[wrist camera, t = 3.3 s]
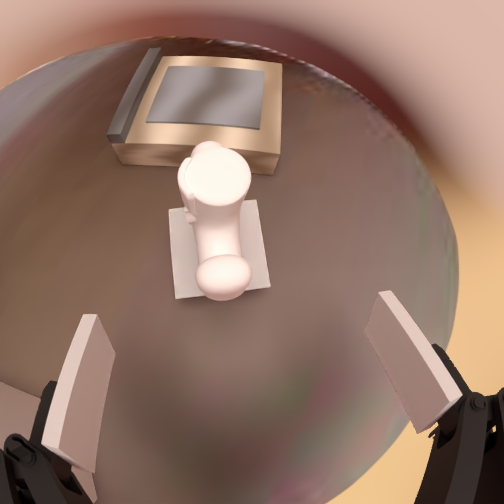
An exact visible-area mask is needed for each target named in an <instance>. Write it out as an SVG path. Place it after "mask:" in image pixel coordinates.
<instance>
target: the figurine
mask: <svg viewBox="0 0 504 504" xmlns="http://www.w3.org/2000/svg"><path fill="white" fill-rule="evenodd" d="M250 183H251V172H250V168H249V166H248V164H247V162H246V161H245V159H244V158H243V157H242V156H241V155H240V154H238V153H237V152H235V151H233V150H231V149H228V148H224V147H223V146H222V145H221V144H220V143H218V142H215V141H206V142H202V143H200V144H198V145H197V146H196V147H195V148H194V149H193V151H192V153H191V157H189V158H186V159H185V160H184V161H183V162H182V164H181V166H180V168H179V171H178V185H179V188H180V192H181V196H182V200H183V203H184V205H185V207H184V208H176V209H169V227H170V243H171V256H172V268H173V278H174V288H175V298H176V299H179V298H188V297H196V296H206V297H208V298H210V299H212V300H217V301H225V300H230V299H234V298H236V297H238V296H240V295H241V294H242V293H243V292H244V291H245V290H252V289H259V288H266V287H270V281H269V274H268V268H267V262H266V256H265V250H264V244H263V237H262V231H261V225H260V219H259V214H258V208H257V202H256V200H247V201H244V198H245V196H246V194H247V191H248V189H249V186H250Z"/></svg>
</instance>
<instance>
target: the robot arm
mask: <svg viewBox="0 0 504 504" xmlns="http://www.w3.org/2000/svg"><path fill="white" fill-rule="evenodd" d="M365 334H366V336H367V337H368V339H369V341H370V343H371V345H372V346H373V348H374V350H375V352H376V354H377V355H378V357H379V359H380V361H381V363H382V365H383V367H384V368H385V370H386V372H387V374H388V376H389V378H390V380H391V382H392V384H393V386H394V388H395V390H396V392H397V393H398V395H399V397H400V399H401V401H402V403H403V405H404V407H405V409H406V411H407V414H408V416H409V418H410V420H411V422H412V424H413V426H414V428H415V430H416V432H417V434H419V433H421V432H423V431H425V430H427V429H429V428H431V427H432V426H433V425H434V424H435V423H436V422H438V424H439V425H438V426H437V427H436V428H435V429H434V430H433V431H432V432H431V433H430V434H429V436H428V437H429V438H430V437H431V436H433V435H434V434H435V436H434V437H433V439H434V441H433V445H432V449H431V453H430V457H429V461H428V464H427V467H426V471H425V474H424V477H423V480H422V483H421V486H420V489H419V491H418V494H417V497H416V499H415V502H414V504H504V388H502V389H501V390H500V391H499V392H498V393H497V394H496V395H490V396H483V395H482V394H480V393H478V392H472V391H471V390H470V389H469V387H468V386H467V384H466V383H465V381H464V380H463V378H462V377H461V375H460V373H459V372H458V370H457V369H456V367H454V364H453V363H452V361H451V360H449V359H450V358H449V357H448V356H447V354H446V352H445V351H444V350H443V349H442V348H441V347H439V346H438V345H437V344H436V343H435V344H433V345H430V343H429V342H428V340H427V339H426V338H425V336H424V335H423V333H422V332H421V330H420V329H419V328H418V326H417V325H416V323H415V322H414V321H413V319H412V318H411V317H410V315H409V314H408V313H407V311H406V310H405V309H404V307H403V306H402V305H401V303H400V302H399V301H398V299H397V298H396V297H395V295H394V294H393V293H392V291H391V290H389V291H383V292H378V294H377V297H376V300H375V303H374V306H373V309H372V312H371V315H370V318H369V321H368V323H367V326H366V329H365ZM114 358H115V352H114V350H113V348H112V346H111V343H110V341H109V339H108V337H107V335H106V333H105V331H104V328H103V326H102V324H101V322H100V319H99V317H98V315H97V314H83V316H82V319H81V321H80V324H79V326H78V328H77V331H76V333H75V336H74V338H73V341H72V343H71V346H70V349H69V351H68V354H67V357H66V359H65V362H64V365H63V368H62V371H61V374H60V377H59V380H58V382H56V381H50V382H49V383H48V384H47V386H46V387H45V388H44V390H43V393H42V396H41V399H40V400H41V402H40V403H39V406H38V410H37V413H36V416H35V420H34V424H33V427H32V431H31V435H30V439H29V441H28V440H27V439H26V438H24V437H23V436H22V435H21V434H17V433H14V434H11V435H9V436H8V437H7V438H6V440H5V442H4V448H3V449H4V450H2V449H1V448H0V504H93V502H92V501H91V499H90V498H89V497H88V495H87V494H86V492H85V490H84V489H83V487H82V486H81V484H80V483H79V481H78V479H77V478H76V476H75V474H74V473H73V472H72V471H71V468H72V466H74V467H75V468H77V469H78V470H82V471H86V472H91V473H95V465H96V456H97V448H98V440H99V434H100V427H101V421H102V415H103V409H104V404H105V399H106V394H107V389H108V384H109V379H110V375H111V370H112V366H113V362H114ZM495 425H496V431H495V432H493V430H492V428H493V427H494V426H495Z"/></svg>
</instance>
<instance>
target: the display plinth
mask: <svg viewBox="0 0 504 504" xmlns="http://www.w3.org/2000/svg"><path fill="white" fill-rule="evenodd" d="M281 101H282V64H279V63H272V62H265V61H257V60H248V59H237V58H224V57H203V56H168V57H163V56H162V50H161V48H149V50H148V52H147V53H146V55H145V57H144V59H143V60H142V62H141V64H140V66H139V67H138V69H137V71H136V73H135V75H134V77H133V78H132V80H131V82H130V84H129V86H128V88H127V90H126V92H125V94H124V96H123V98H122V100H121V102H120V104H119V107H118V109H117V111H116V113H115V115H114V118H113V120H112V122H111V124H110V127H109V129H108V132H107V134H106V135H107V137H108V139H109V141H110V142H111V144H112V146H113V148H114V150H115V152H116V154H117V155H118V157H119V159H120V161H121V163H122V164H123V165H155V166H176V167H180V166H181V164H182V162H183V161H184V160H185V159H186V158H189V157H191V153H192V151H193V149H194V148H195V147H196V146H197V145H198V144H200V143H202V142H206V141H215V142H218V143H220V144H221V145H222V146H223V147H224V148H228V149H231V150H233V151H235V152H237V153H238V154H240V155H241V156H242V157H243V158H244V159H245V161H246V162H247V164H248V166H249V168H250V172H251V173H256V174H264V175H272V176H273V173H274V170H275V167H276V164H277V161H278V159H279V156H280V139H281Z"/></svg>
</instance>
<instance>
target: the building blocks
mask: <svg viewBox="0 0 504 504" xmlns="http://www.w3.org/2000/svg"><path fill="white" fill-rule="evenodd" d="M40 402H41V400H40V398H38V397H35V396H32V395H30V394H27V393H25V392H23V391H20V390H18V389H16V388H13V387H11V386H9V385H7V384H5V383H3V382H0V448H1V449H2V450H4V449H3V448H4V442H5V440H6V438H7V437H8V436H9V435H11V434H14V433H17V434H21V435H22V436H23V437H24V438H26V439H27V440H28V441H29V439H30V435H31V431H32V427H33V424H34V420H35V416H36V413H37V410H38V406H39V403H40ZM71 471H72V472H73V473H74V474H75V476H76V478H77V479H78V481H79V483H80V484H81V486H82V487H83V489H84V490H85V492H86V494H87V495H88V497H89V498H90V499H91V501H92V502H93V504H94V503H95V502H96V500H97V495H96V491H95V486H94V482H93V478H92V473H91V472H86V471H82V470H78V469H77V468H75V467H74V466H72V468H71Z"/></svg>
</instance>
